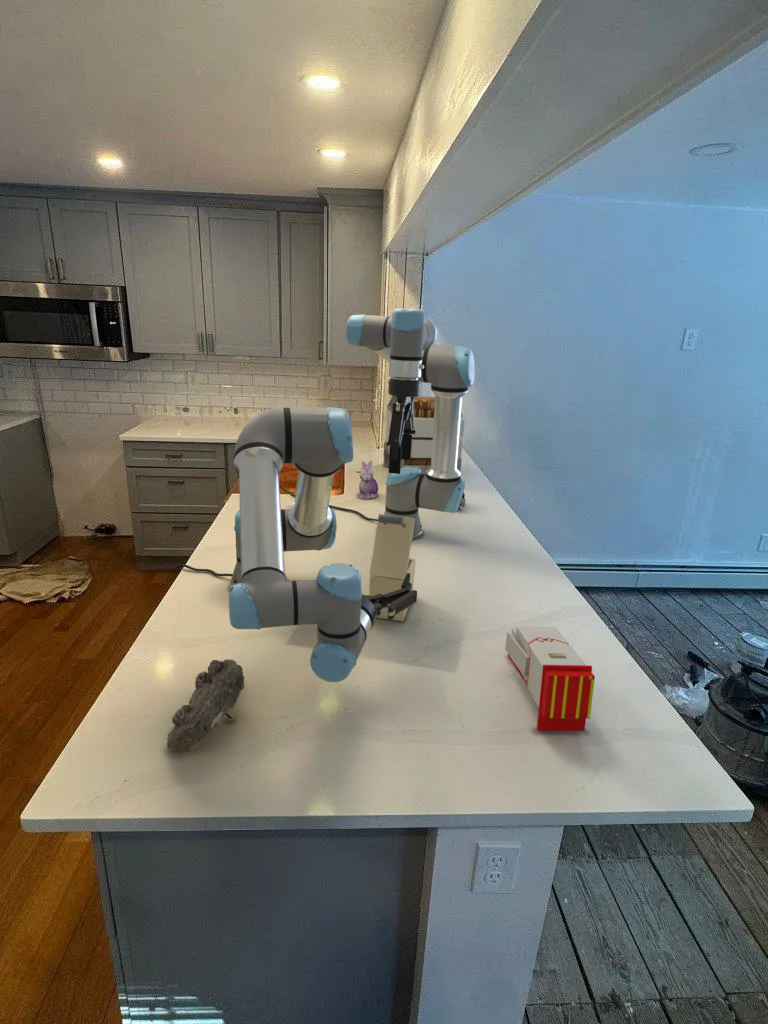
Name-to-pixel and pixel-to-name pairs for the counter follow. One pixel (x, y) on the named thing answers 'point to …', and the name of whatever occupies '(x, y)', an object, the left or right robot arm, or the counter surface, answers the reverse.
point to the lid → (392, 546)
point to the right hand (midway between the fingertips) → (400, 466)
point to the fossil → (206, 705)
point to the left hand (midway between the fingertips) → (379, 574)
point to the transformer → (420, 433)
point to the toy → (552, 677)
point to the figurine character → (462, 502)
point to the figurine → (367, 482)
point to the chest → (391, 587)
